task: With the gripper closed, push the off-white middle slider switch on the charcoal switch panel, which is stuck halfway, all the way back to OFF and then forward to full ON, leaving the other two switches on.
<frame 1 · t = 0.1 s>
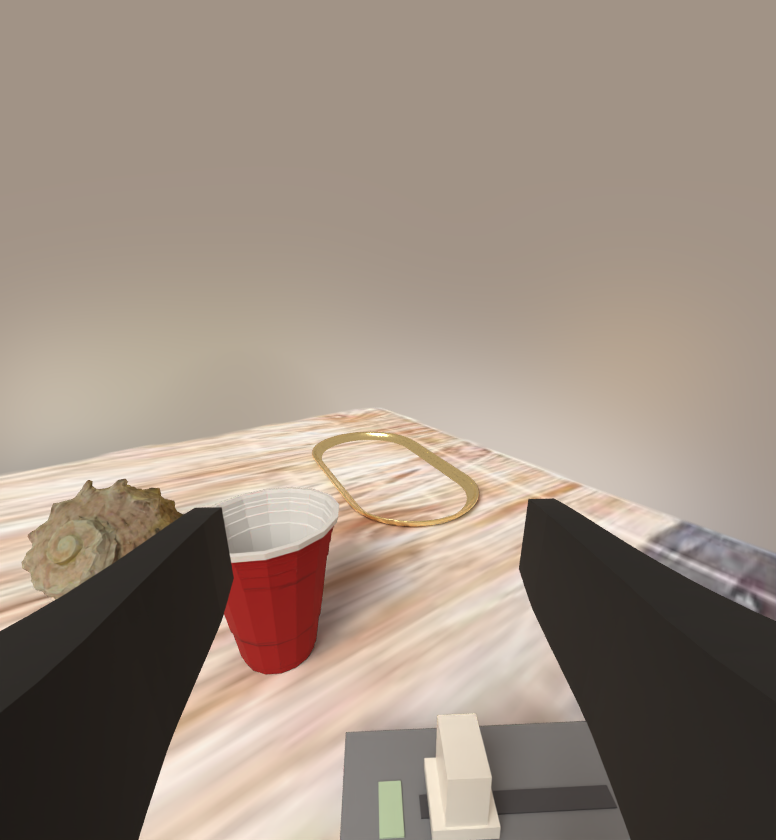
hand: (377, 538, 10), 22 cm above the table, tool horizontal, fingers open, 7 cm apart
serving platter: (386, 476, 66), on the table
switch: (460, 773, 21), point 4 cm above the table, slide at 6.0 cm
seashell: (122, 573, 43), on the table
plastic cup: (278, 644, 34), on the table
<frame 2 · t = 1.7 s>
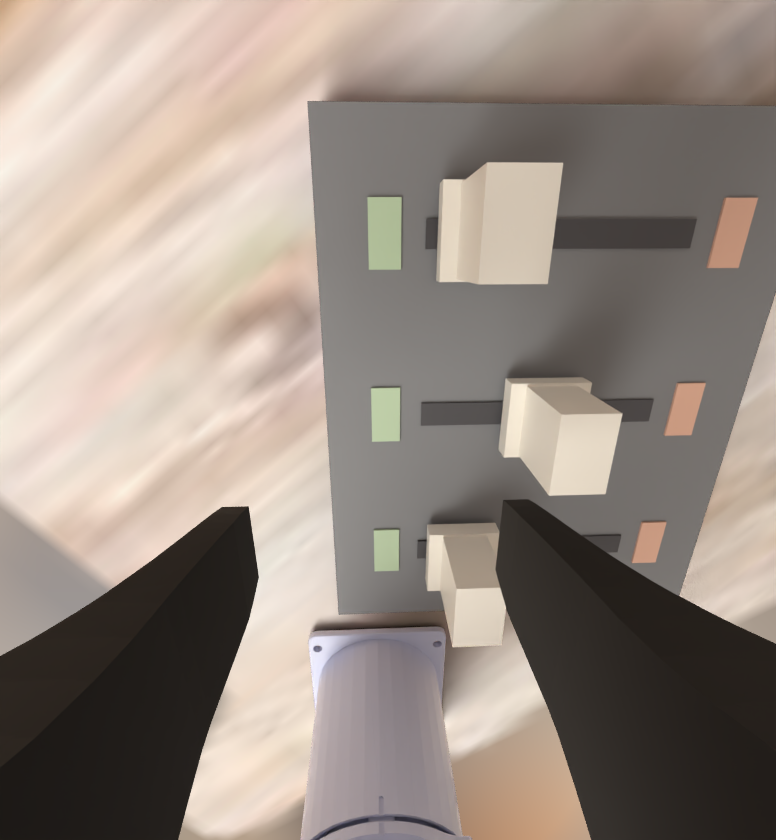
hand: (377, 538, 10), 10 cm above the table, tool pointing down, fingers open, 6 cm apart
switch panel: (520, 397, 20), on the table
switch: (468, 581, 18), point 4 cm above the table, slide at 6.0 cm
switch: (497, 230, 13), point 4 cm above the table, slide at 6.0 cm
tripped switch: (559, 432, 16), point 4 cm above the table, slide at 3.0 cm
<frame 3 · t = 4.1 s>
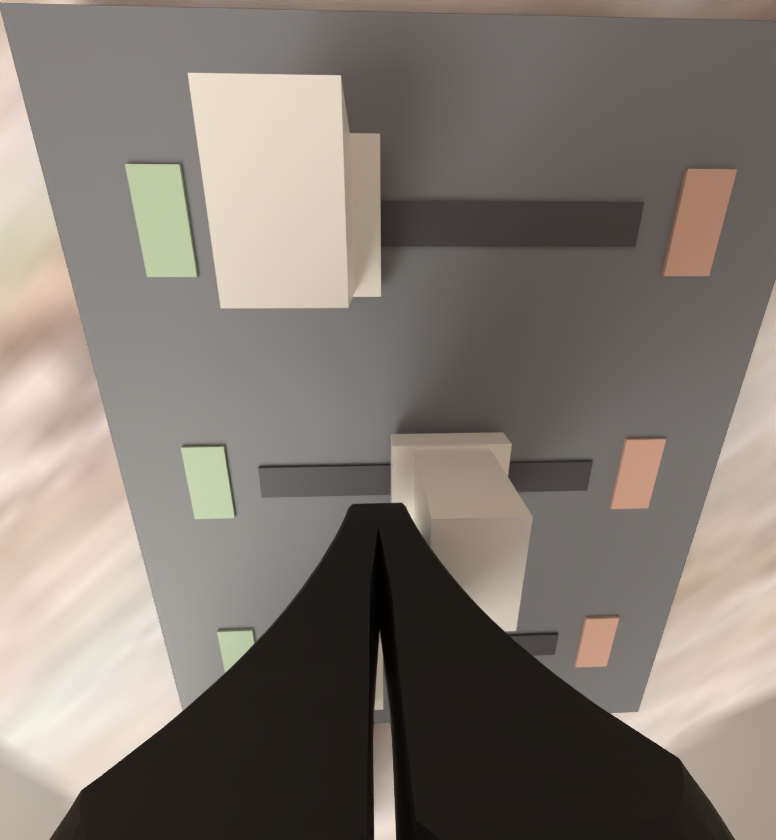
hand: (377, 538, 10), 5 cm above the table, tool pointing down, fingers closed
switch panel: (419, 449, 15), on the table
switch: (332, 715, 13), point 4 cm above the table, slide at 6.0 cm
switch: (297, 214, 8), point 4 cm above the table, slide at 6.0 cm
tripped switch: (457, 522, 11), point 4 cm above the table, slide at 2.5 cm, touching gripper
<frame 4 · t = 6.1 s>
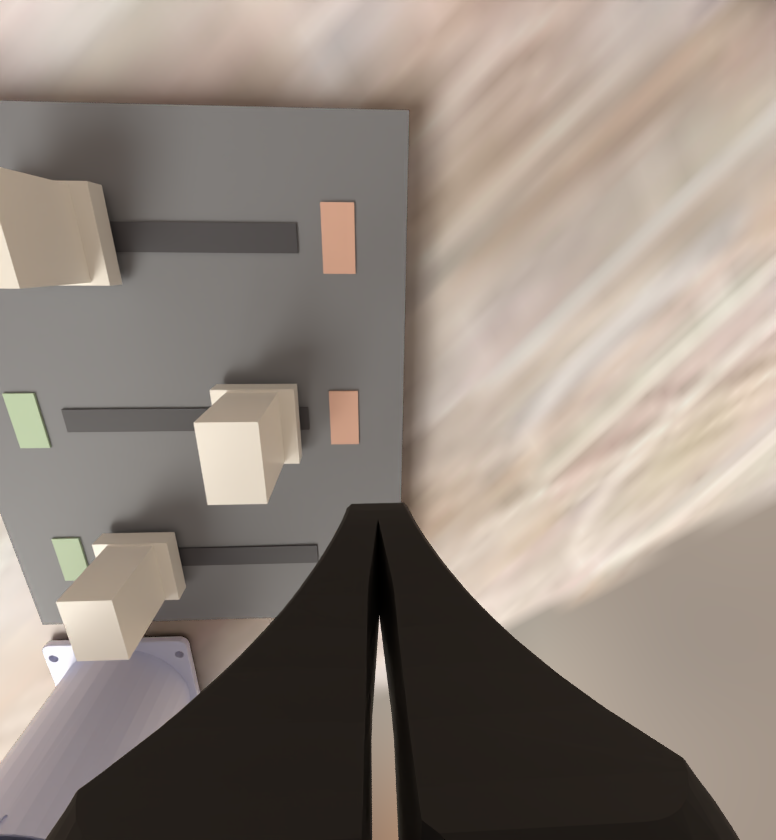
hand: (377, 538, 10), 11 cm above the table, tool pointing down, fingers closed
switch panel: (206, 403, 19), on the table
tripped switch: (248, 440, 16), point 4 cm above the table, slide at -0.1 cm
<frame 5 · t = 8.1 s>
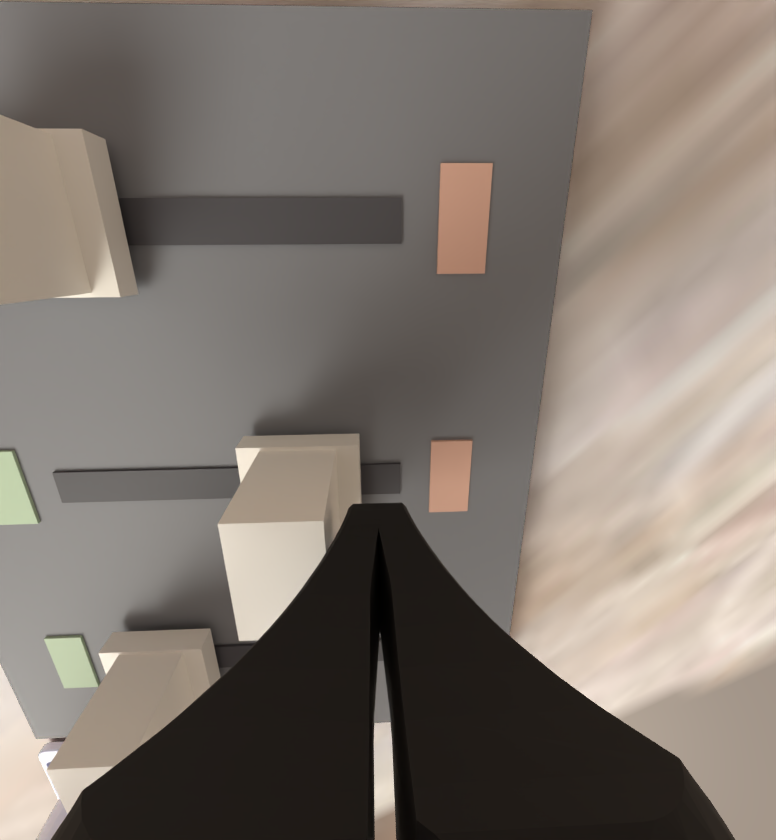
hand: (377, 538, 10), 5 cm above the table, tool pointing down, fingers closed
switch panel: (250, 452, 14), on the table
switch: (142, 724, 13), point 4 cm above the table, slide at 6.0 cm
tripped switch: (294, 525, 10), point 4 cm above the table, slide at 0.8 cm, touching gripper
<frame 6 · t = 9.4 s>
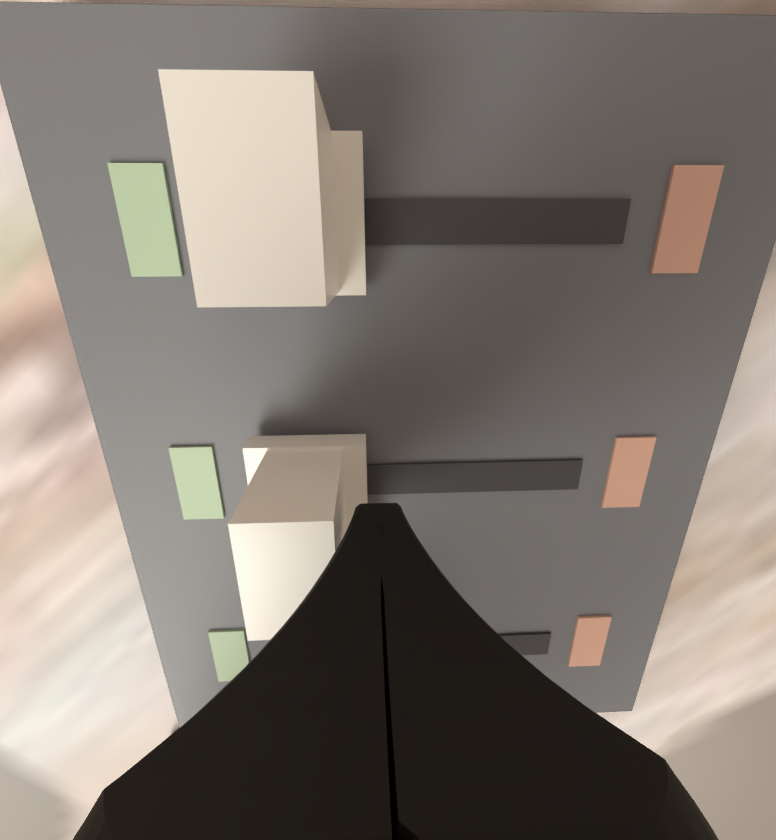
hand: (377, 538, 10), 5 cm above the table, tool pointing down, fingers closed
switch panel: (410, 449, 15), on the table
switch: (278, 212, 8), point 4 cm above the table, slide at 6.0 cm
tripped switch: (302, 525, 10), point 4 cm above the table, slide at 6.1 cm, touching gripper
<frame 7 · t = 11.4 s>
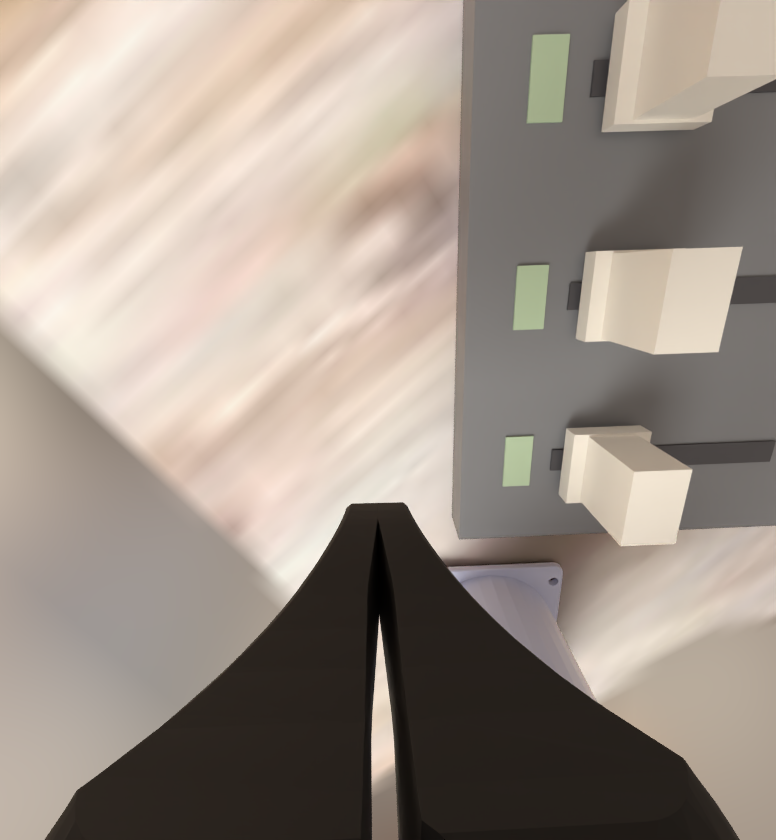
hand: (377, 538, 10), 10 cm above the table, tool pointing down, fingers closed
switch panel: (661, 290, 18), on the table
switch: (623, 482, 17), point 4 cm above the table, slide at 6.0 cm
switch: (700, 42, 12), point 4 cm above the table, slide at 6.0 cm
tripped switch: (654, 298, 14), point 4 cm above the table, slide at 6.1 cm
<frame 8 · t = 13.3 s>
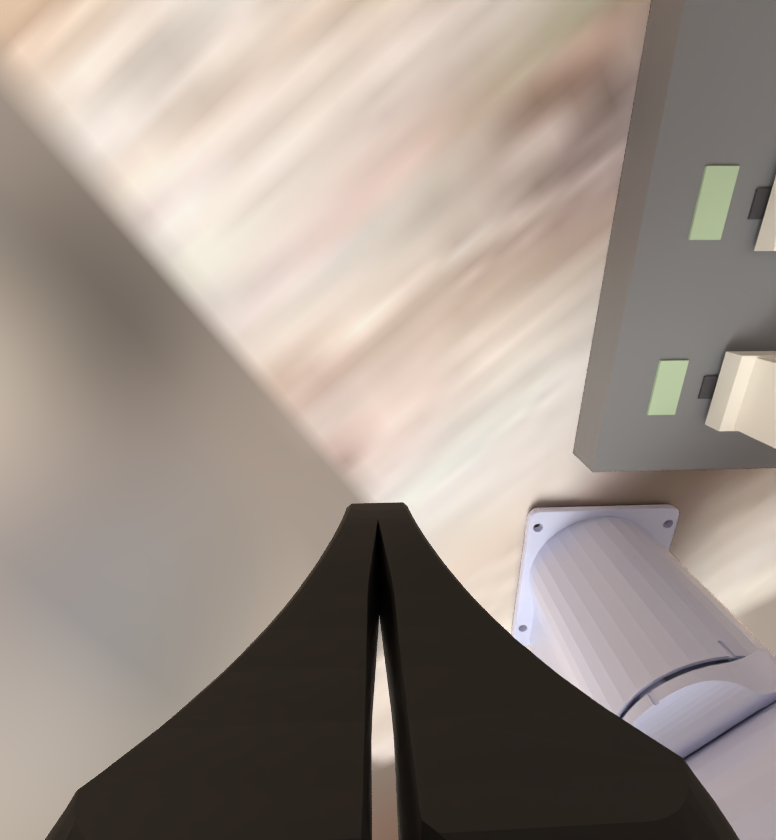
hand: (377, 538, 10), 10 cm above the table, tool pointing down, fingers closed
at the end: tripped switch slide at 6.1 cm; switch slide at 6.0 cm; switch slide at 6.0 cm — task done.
